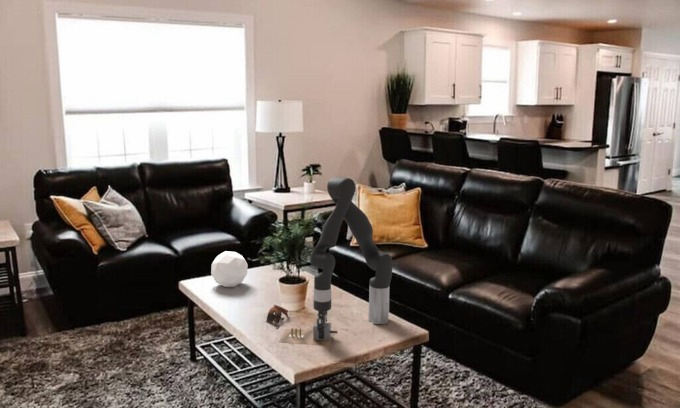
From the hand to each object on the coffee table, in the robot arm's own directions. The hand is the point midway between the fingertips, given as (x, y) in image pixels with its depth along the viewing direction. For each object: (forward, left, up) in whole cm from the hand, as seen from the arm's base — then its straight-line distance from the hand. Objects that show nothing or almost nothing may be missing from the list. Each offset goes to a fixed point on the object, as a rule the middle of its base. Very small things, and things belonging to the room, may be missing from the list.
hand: (322, 335), depth 246 cm
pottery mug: (+24, -18, -3) cm, 30 cm away
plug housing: (-1, 0, -1) cm, 2 cm away
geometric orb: (+61, -61, -3) cm, 86 cm away
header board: (+7, 0, -3) cm, 7 cm away
